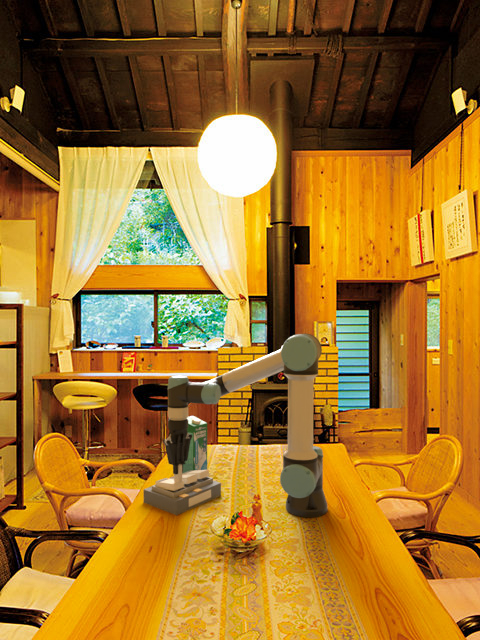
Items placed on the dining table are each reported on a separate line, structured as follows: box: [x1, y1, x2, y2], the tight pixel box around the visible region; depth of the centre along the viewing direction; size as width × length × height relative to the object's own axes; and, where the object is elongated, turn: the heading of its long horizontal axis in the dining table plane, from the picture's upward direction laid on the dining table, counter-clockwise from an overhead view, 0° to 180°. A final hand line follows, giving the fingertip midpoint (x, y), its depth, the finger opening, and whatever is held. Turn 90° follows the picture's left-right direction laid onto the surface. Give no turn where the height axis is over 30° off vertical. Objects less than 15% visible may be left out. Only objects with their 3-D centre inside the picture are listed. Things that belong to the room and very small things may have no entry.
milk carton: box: [182, 415, 208, 474], centre depth 211 cm, size 9×9×25 cm
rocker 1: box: [155, 477, 184, 491], centre depth 176 cm, size 10×5×3 cm, turn 51°
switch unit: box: [143, 476, 222, 516], centre depth 181 cm, size 18×24×7 cm
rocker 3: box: [182, 469, 210, 479], centre depth 186 cm, size 10×5×3 cm, turn 51°
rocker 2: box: [168, 474, 197, 484], centre depth 181 cm, size 10×5×3 cm, turn 51°
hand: (178, 482), depth 173 cm, fingers closed
